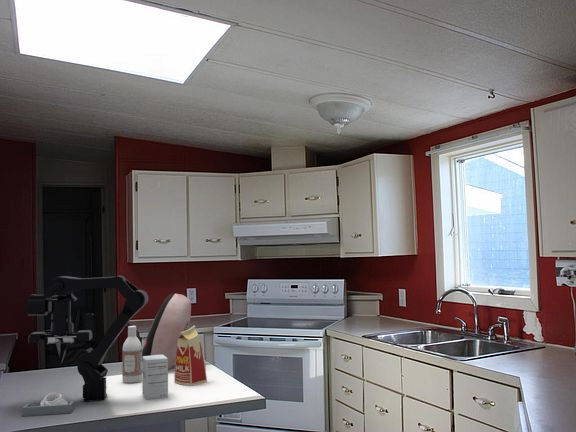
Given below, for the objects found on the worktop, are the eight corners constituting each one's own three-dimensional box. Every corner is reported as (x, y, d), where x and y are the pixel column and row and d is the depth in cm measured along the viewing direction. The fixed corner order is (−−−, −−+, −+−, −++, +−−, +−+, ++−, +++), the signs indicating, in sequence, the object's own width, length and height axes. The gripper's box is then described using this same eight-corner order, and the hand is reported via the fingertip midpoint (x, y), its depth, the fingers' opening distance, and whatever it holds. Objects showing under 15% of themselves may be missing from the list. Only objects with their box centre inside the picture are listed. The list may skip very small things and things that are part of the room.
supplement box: (141, 394, 181) (141, 356, 182) (164, 391, 184) (164, 353, 185) (145, 399, 175) (145, 359, 175) (168, 397, 177) (168, 357, 178)
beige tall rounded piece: (148, 362, 234) (148, 292, 236) (194, 361, 235) (193, 291, 237) (137, 374, 212) (137, 296, 214) (188, 372, 214) (187, 295, 215)
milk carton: (191, 378, 203) (190, 324, 205) (208, 381, 198) (207, 325, 199) (171, 383, 196) (171, 327, 198) (188, 386, 190) (188, 328, 192)
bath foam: (119, 383, 197) (119, 327, 198) (126, 379, 204) (126, 325, 205) (138, 383, 197) (138, 327, 198) (144, 379, 204) (144, 324, 205)
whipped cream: (68, 407, 172) (70, 391, 173) (66, 411, 165) (67, 394, 166) (41, 407, 170) (43, 391, 171) (37, 411, 163) (39, 394, 164)
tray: (74, 408, 166) (74, 400, 167) (71, 412, 162) (71, 404, 162) (27, 411, 164) (27, 403, 164) (22, 416, 159) (22, 407, 160)
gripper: (95, 311, 188) (95, 357, 187) (38, 313, 185) (37, 359, 184) (89, 315, 177) (88, 363, 176) (27, 316, 174) (27, 366, 173)
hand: (60, 363), depth 177 cm, fingers closed
